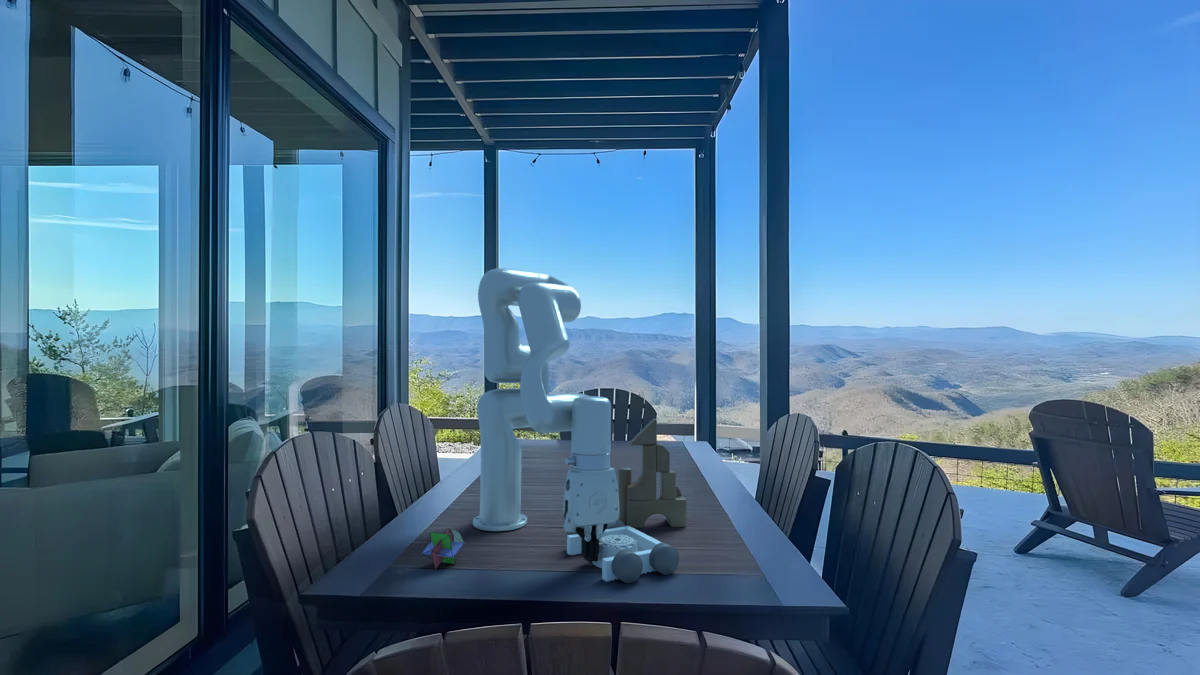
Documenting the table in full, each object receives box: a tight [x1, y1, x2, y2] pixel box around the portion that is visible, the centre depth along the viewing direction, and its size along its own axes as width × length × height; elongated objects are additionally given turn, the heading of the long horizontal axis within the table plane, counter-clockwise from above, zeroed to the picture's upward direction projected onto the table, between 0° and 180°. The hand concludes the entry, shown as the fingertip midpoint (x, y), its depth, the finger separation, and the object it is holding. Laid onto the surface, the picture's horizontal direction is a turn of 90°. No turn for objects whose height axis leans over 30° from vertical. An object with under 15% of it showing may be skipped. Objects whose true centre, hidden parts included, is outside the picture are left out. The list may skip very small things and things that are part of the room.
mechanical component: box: [591, 534, 640, 569], centre depth 107 cm, size 10×4×10 cm
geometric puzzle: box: [420, 527, 465, 570], centre depth 104 cm, size 7×7×8 cm
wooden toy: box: [617, 418, 687, 529], centre depth 132 cm, size 16×7×25 cm, turn 96°
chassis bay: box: [565, 519, 680, 584], centre depth 107 cm, size 21×14×5 cm
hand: (590, 559), depth 104 cm, fingers closed
